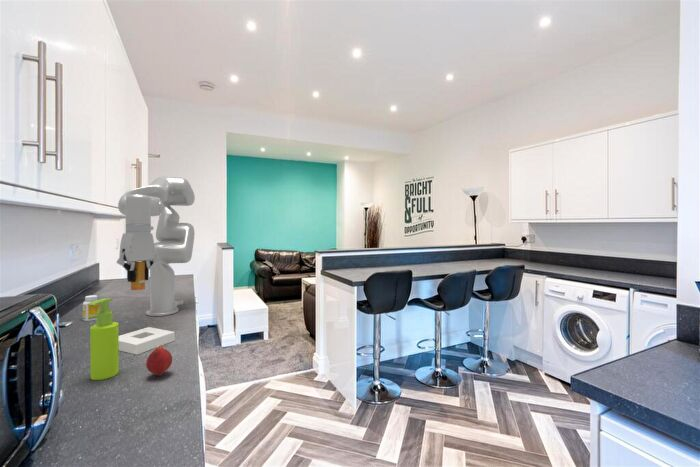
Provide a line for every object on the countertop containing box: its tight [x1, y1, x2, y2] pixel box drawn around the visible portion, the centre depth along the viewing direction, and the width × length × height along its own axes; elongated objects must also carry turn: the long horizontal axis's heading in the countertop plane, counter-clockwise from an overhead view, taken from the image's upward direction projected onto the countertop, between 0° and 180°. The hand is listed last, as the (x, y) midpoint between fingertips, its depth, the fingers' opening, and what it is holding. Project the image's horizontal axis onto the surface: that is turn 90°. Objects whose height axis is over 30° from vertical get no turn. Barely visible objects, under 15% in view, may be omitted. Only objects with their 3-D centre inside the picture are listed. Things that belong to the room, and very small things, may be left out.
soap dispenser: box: [87, 297, 120, 381], centre depth 83 cm, size 6×7×20 cm
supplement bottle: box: [82, 294, 100, 322], centre depth 132 cm, size 5×5×10 cm
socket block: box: [119, 326, 176, 355], centre depth 105 cm, size 13×13×3 cm
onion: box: [145, 345, 173, 377], centre depth 84 cm, size 6×6×8 cm
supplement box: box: [130, 261, 146, 291], centre depth 114 cm, size 3×3×10 cm
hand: (138, 280), depth 114 cm, fingers closed on supplement box, 4 cm apart
